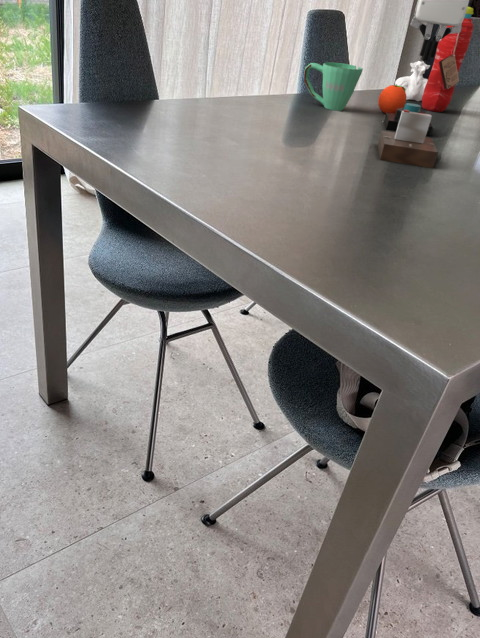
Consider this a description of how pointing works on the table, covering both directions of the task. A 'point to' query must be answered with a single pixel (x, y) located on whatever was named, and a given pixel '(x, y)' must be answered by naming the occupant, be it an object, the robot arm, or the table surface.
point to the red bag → (447, 67)
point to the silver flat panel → (412, 126)
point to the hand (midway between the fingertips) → (425, 60)
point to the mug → (334, 83)
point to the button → (412, 107)
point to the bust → (414, 81)
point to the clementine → (392, 99)
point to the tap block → (406, 151)
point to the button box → (393, 120)
